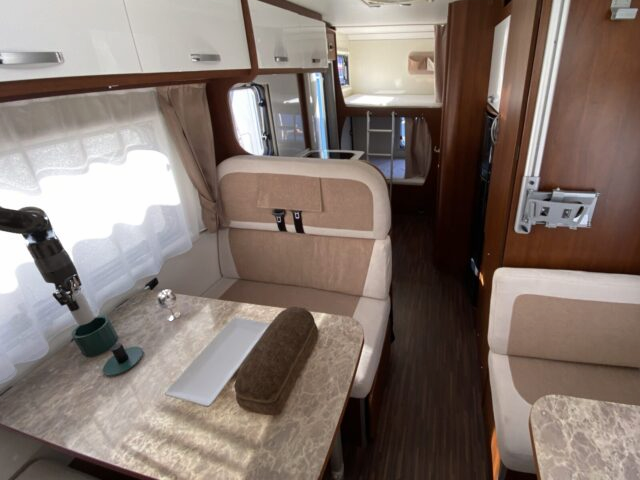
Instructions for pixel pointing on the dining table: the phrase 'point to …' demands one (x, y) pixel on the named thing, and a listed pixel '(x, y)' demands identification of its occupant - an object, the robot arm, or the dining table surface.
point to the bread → (276, 362)
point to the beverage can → (82, 309)
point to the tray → (217, 362)
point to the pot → (95, 336)
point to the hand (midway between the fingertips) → (77, 304)
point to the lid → (122, 359)
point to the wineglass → (168, 302)
